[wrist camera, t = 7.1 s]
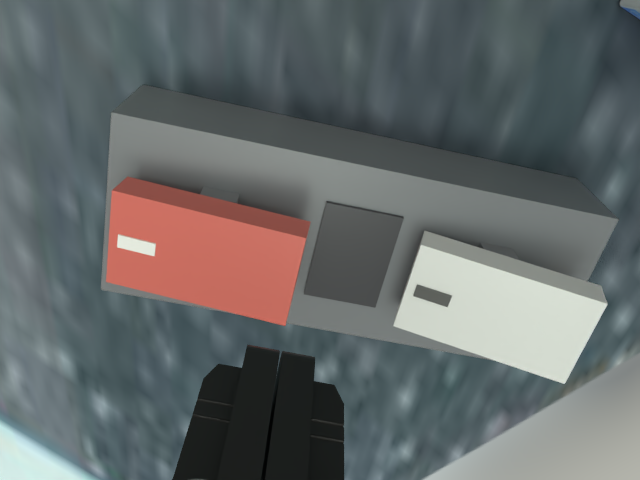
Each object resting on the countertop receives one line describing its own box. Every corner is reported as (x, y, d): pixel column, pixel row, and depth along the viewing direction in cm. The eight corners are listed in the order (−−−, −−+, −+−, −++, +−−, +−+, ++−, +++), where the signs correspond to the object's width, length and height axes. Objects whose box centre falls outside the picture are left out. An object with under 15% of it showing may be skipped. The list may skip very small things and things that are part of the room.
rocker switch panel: (576, 178, 32) (629, 229, 26) (514, 314, 36) (549, 382, 30) (142, 84, 29) (103, 119, 24) (129, 241, 33) (94, 301, 28)
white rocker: (601, 285, 26) (607, 304, 24) (560, 363, 28) (564, 385, 26) (424, 230, 27) (420, 245, 25) (397, 308, 29) (392, 326, 27)
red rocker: (310, 221, 25) (305, 238, 24) (290, 305, 27) (285, 326, 26) (127, 176, 25) (111, 191, 24) (120, 264, 27) (105, 282, 26)
